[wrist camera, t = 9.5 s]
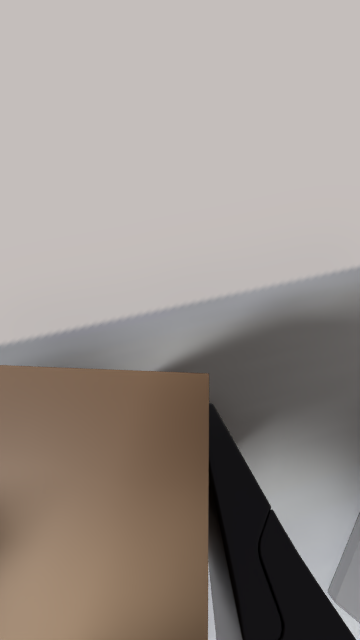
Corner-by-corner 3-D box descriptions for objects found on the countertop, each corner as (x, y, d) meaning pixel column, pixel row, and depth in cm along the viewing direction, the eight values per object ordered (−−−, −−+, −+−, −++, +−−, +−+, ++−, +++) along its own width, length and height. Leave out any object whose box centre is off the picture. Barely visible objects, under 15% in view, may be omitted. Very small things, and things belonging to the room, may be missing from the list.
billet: (196, 473, 13) (207, 776, 3) (118, 468, 13) (-150, 721, 3) (197, 390, 14) (209, 373, 4) (127, 387, 15) (-32, 364, 4)
